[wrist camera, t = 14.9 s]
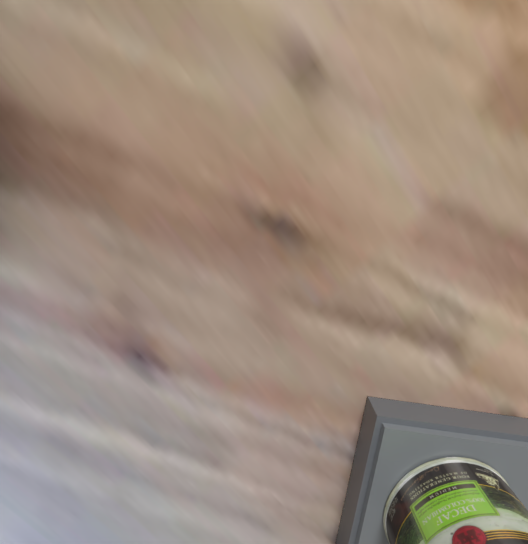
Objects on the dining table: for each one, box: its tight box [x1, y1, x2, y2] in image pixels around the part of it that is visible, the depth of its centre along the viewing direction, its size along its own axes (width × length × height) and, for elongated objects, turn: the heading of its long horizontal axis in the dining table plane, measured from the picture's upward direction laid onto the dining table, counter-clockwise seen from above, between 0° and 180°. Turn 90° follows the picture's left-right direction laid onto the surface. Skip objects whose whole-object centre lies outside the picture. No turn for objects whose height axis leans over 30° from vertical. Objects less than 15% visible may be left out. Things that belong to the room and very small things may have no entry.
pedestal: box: [336, 397, 528, 544], centre depth 41 cm, size 14×14×4 cm
